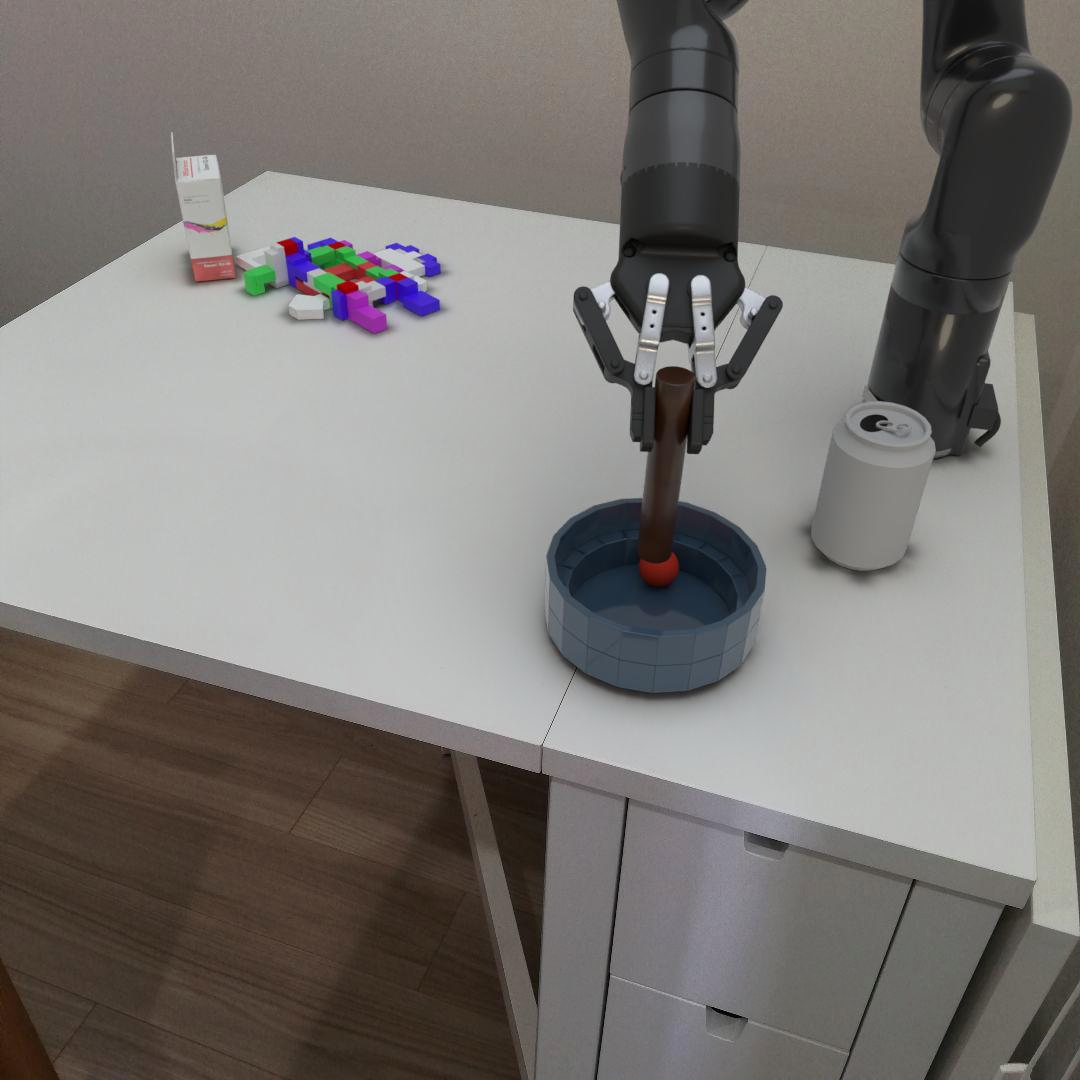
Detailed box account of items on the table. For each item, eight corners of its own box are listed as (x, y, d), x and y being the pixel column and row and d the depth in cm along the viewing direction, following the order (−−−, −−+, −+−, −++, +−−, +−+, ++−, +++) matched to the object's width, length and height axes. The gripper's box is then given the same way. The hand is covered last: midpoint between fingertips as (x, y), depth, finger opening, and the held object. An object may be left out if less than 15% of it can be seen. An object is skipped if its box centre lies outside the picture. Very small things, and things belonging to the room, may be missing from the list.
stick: (673, 545, 74) (697, 368, 65) (669, 566, 72) (693, 387, 64) (639, 540, 74) (658, 363, 66) (634, 560, 73) (653, 382, 64)
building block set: (487, 291, 121) (486, 253, 119) (338, 347, 110) (334, 308, 107) (358, 227, 135) (355, 193, 133) (215, 272, 124) (208, 235, 121)
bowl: (759, 575, 82) (771, 513, 78) (746, 718, 70) (759, 653, 67) (567, 546, 85) (570, 485, 81) (524, 679, 73) (525, 615, 69)
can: (835, 508, 89) (864, 384, 82) (919, 544, 86) (957, 417, 78) (791, 550, 85) (818, 422, 77) (878, 590, 81) (915, 460, 74)
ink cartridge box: (238, 278, 123) (217, 150, 114) (194, 283, 122) (169, 154, 113) (232, 250, 129) (211, 126, 120) (190, 254, 128) (166, 129, 119)
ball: (679, 572, 81) (683, 541, 79) (674, 597, 79) (678, 566, 77) (640, 566, 82) (643, 536, 80) (634, 591, 79) (637, 560, 77)
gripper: (572, 152, 64) (559, 432, 62) (802, 162, 64) (796, 443, 62) (570, 206, 72) (558, 457, 69) (776, 215, 71) (770, 467, 69)
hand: (670, 449), depth 66 cm, fingers closed on stick, 2 cm apart
